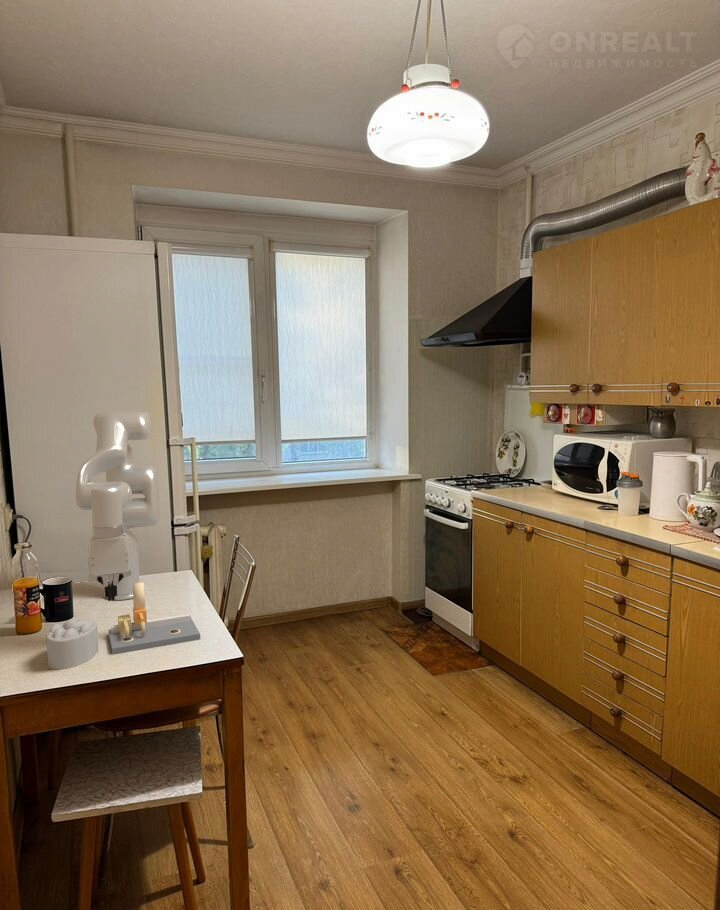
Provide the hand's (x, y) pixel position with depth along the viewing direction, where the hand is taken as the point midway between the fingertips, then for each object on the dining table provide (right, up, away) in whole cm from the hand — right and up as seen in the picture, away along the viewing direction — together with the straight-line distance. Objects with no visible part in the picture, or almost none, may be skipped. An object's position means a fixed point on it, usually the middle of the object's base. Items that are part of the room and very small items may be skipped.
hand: (111, 599), depth 168 cm
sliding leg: (+7, -9, +2) cm, 12 cm away
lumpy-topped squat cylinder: (-5, -12, -11) cm, 18 cm away
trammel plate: (+11, -11, +2) cm, 15 cm away
